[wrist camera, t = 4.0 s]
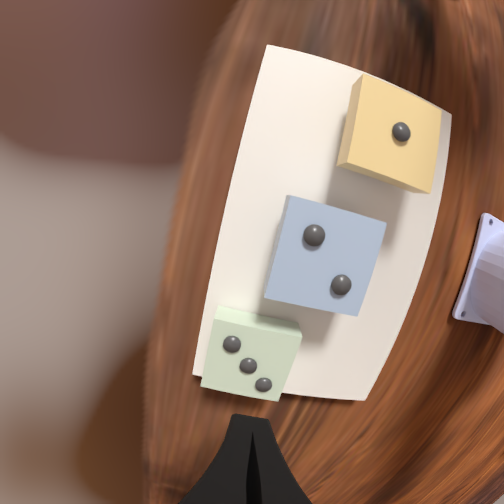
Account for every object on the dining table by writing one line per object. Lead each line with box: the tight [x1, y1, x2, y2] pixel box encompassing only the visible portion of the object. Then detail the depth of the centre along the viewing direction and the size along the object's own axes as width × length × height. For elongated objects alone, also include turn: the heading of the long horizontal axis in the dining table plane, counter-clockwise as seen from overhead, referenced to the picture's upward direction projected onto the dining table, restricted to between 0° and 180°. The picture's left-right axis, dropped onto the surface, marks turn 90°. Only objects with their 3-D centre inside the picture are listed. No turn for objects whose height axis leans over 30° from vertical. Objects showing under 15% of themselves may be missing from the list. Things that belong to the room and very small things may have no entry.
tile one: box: [336, 73, 442, 194], centre depth 11 cm, size 4×4×2 cm
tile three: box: [201, 305, 302, 401], centre depth 15 cm, size 4×4×2 cm
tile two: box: [264, 195, 387, 317], centre depth 13 cm, size 4×4×2 cm
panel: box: [193, 45, 452, 400], centre depth 15 cm, size 12×20×2 cm, turn 167°
